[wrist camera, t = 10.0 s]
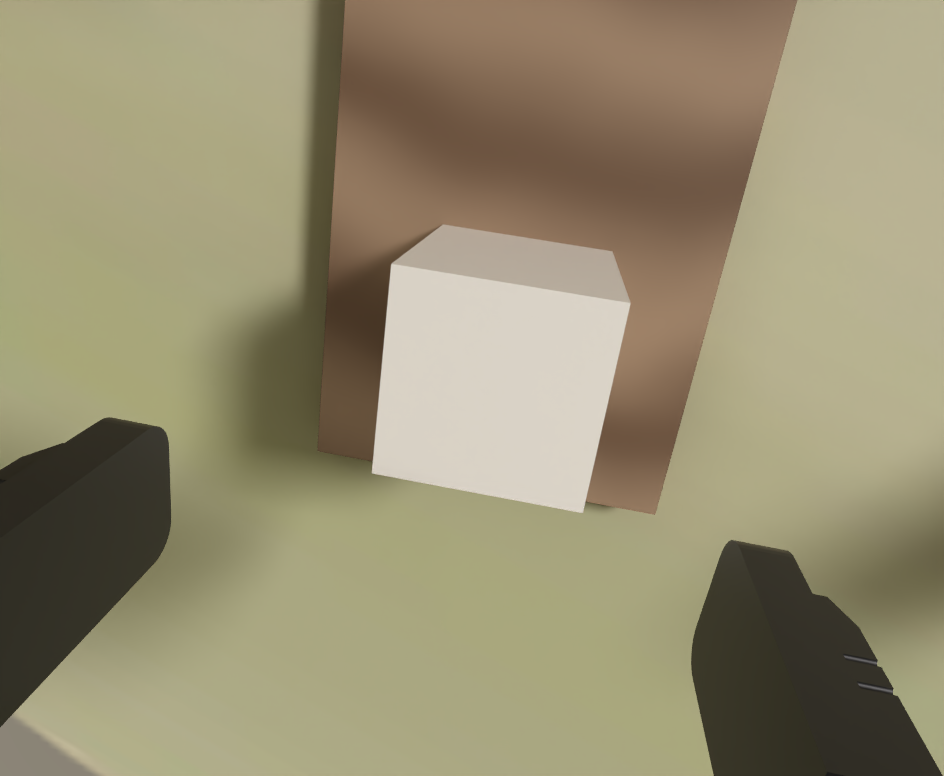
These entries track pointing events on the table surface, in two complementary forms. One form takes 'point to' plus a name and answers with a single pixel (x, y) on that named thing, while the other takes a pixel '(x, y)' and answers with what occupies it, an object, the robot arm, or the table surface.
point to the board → (549, 179)
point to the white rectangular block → (499, 365)
